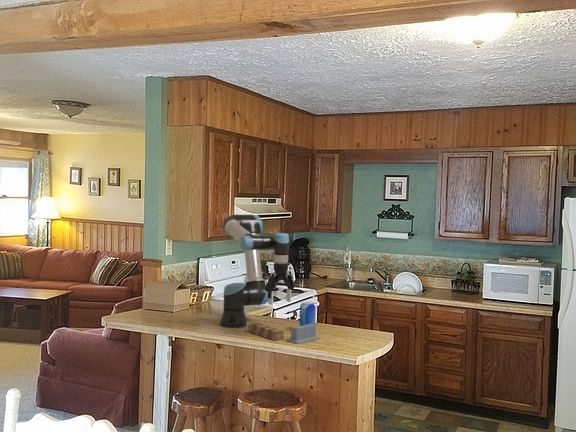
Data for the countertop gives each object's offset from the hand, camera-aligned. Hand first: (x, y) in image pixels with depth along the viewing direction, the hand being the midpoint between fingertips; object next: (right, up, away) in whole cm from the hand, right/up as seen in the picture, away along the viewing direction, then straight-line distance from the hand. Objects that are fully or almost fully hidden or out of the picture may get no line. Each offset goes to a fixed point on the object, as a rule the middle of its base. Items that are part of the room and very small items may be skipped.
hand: (279, 303), depth 311 cm
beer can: (+15, -18, +12) cm, 26 cm away
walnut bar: (-7, -18, +1) cm, 19 cm away
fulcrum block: (+12, -18, -7) cm, 23 cm away
